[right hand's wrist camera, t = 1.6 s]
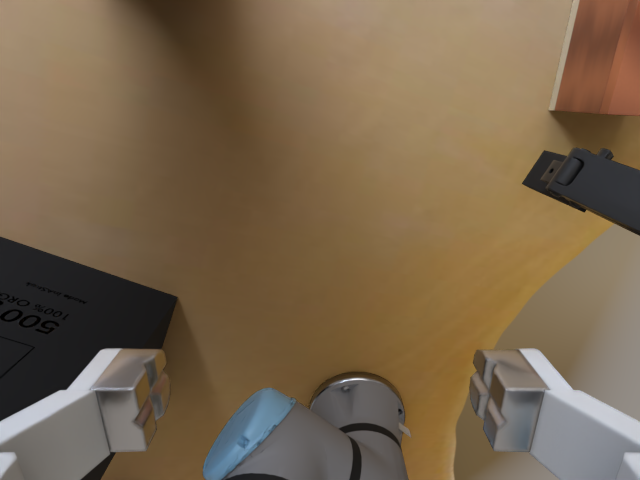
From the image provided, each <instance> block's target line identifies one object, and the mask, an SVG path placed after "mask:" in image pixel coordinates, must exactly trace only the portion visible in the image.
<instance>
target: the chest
mask: <svg viewBox="0 0 640 480" xmlns="http://www.w3.org/2000/svg"><path fill="white" fill-rule="evenodd" d="M628 4H629V0H573V4H572V8H571V13H570V17H569V21H568V26H567V30H566V35H565V39H564V44H563V48H562V52H561V57H560V61H559V66H558V70H557V75H556V79H555V84H554V88H553V92H552V97H551V101H550V106H549V110H553V111H568V112H581V113H594V114H599V112H600V109H601V105H602V101H603V97H604V94H605V90H606V86H607V82H608V79H609V75H610V71H611V67H612V64H613V60H614V56H615V52H616V49H617V45H618V41H619V38H620V34H621V30H622V26H623V23H624V19H625V15H626V11H627V8H628Z"/></svg>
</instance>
